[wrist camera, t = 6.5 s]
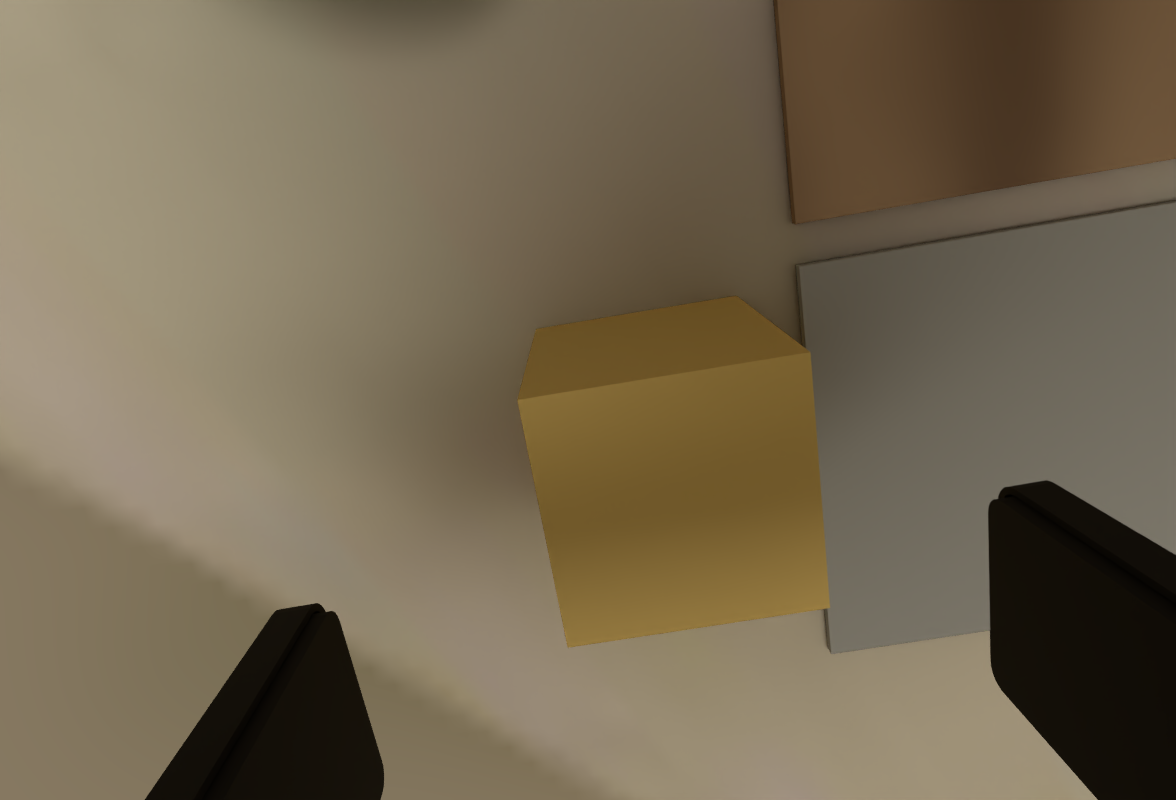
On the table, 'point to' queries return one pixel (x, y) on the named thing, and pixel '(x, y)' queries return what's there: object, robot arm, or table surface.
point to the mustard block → (675, 470)
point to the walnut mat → (967, 96)
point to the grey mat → (984, 404)
